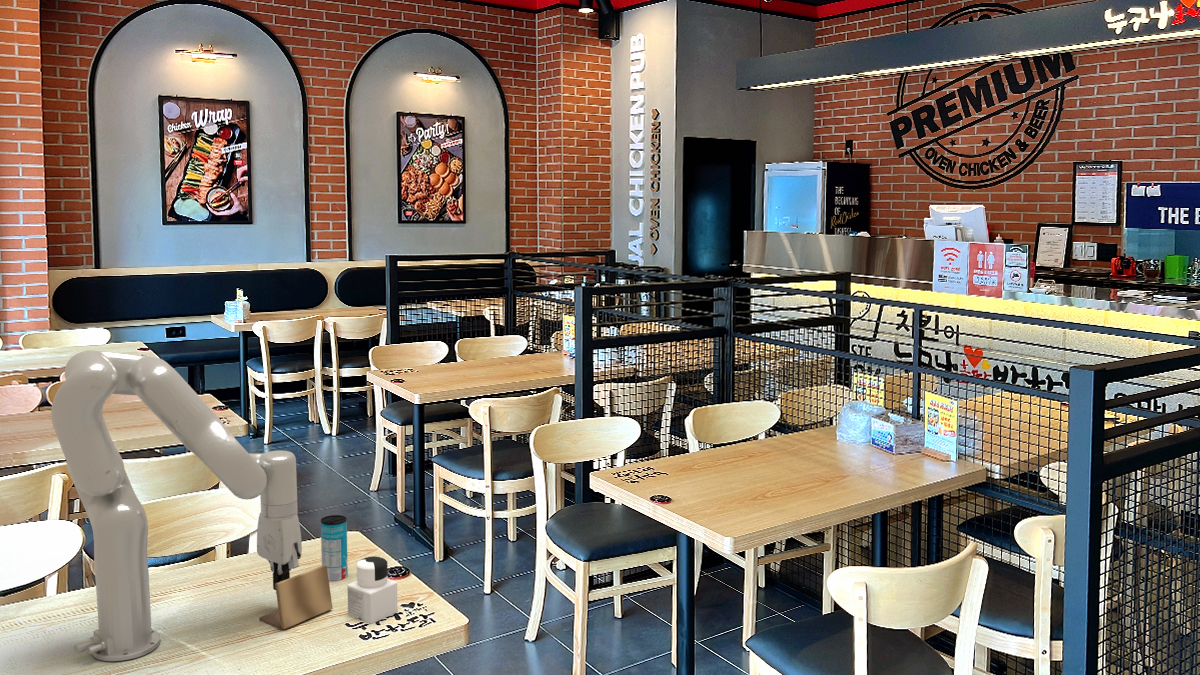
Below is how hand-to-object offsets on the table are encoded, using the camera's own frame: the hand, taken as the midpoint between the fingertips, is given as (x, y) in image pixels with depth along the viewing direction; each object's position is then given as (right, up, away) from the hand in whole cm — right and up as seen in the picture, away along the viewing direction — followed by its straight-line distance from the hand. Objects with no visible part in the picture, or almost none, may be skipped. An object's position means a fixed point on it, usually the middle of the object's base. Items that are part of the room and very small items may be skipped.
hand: (281, 588), depth 211 cm
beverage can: (+6, -3, +19) cm, 21 cm away
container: (+20, -6, 0) cm, 21 cm away
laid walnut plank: (+8, -7, -5) cm, 11 cm away
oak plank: (+7, -1, -5) cm, 8 cm away
